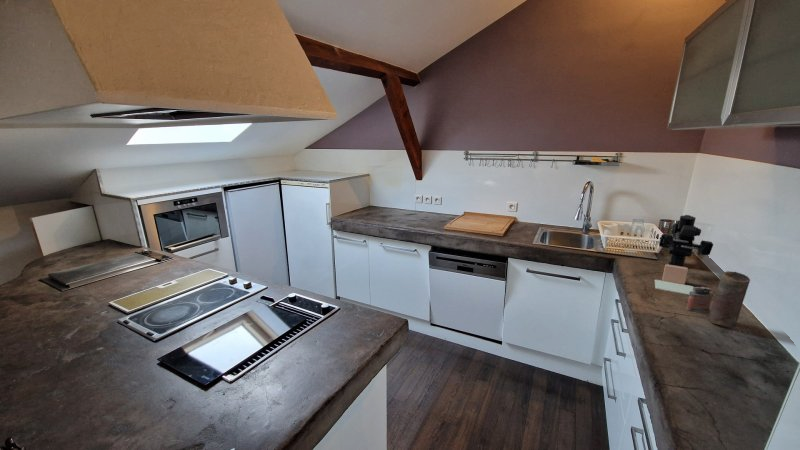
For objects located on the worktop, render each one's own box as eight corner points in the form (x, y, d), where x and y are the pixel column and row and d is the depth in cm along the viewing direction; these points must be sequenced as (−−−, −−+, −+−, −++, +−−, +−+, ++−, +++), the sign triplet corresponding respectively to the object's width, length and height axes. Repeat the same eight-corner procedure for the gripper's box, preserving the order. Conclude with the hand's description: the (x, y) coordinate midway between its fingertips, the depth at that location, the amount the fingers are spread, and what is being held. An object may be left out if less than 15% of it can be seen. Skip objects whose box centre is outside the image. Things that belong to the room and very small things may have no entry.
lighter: (704, 307, 133) (710, 285, 130) (711, 312, 130) (717, 289, 127) (683, 307, 134) (688, 285, 131) (689, 311, 130) (695, 289, 128)
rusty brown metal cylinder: (736, 323, 122) (750, 274, 116) (735, 332, 117) (750, 281, 111) (708, 316, 127) (721, 268, 122) (706, 324, 122) (719, 275, 117)
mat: (654, 280, 157) (654, 279, 157) (692, 287, 149) (693, 286, 149) (655, 288, 149) (655, 287, 149) (696, 296, 142) (696, 295, 141)
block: (662, 279, 158) (665, 264, 156) (683, 283, 153) (687, 267, 151) (662, 281, 156) (665, 265, 154) (684, 285, 151) (688, 269, 149)
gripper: (664, 219, 162) (665, 231, 151) (715, 227, 152) (719, 240, 141) (658, 239, 167) (658, 252, 155) (707, 248, 156) (711, 262, 145)
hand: (686, 251), depth 149 cm, fingers open, 9 cm apart
